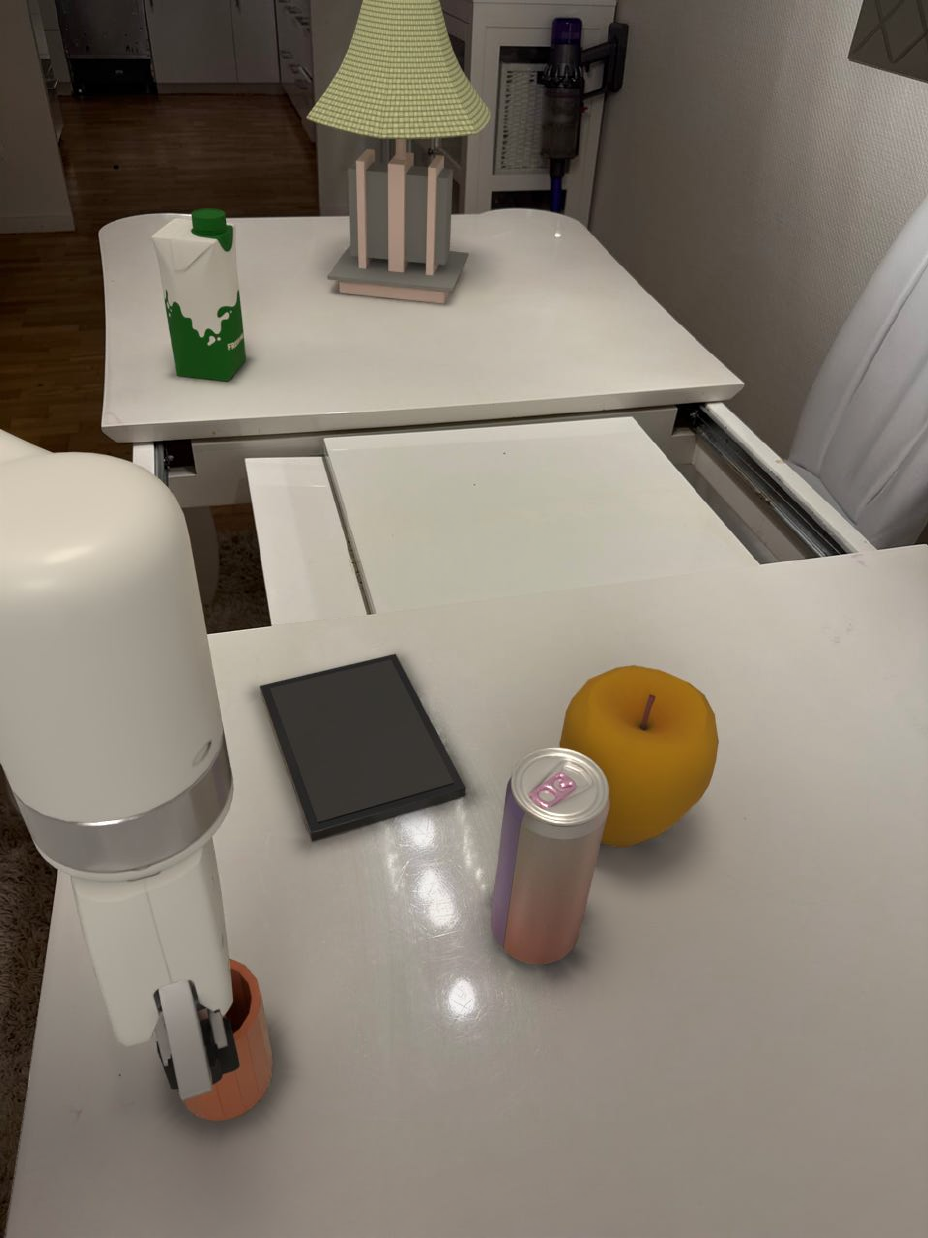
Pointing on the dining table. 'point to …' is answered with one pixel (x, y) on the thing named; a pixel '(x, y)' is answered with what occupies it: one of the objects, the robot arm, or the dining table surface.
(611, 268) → the dining table surface
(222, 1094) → the pen cup
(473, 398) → the dining table surface
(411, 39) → the desk lamp
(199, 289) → the milk carton
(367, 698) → the tablet
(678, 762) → the apple
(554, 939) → the beverage can
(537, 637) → the dining table surface
